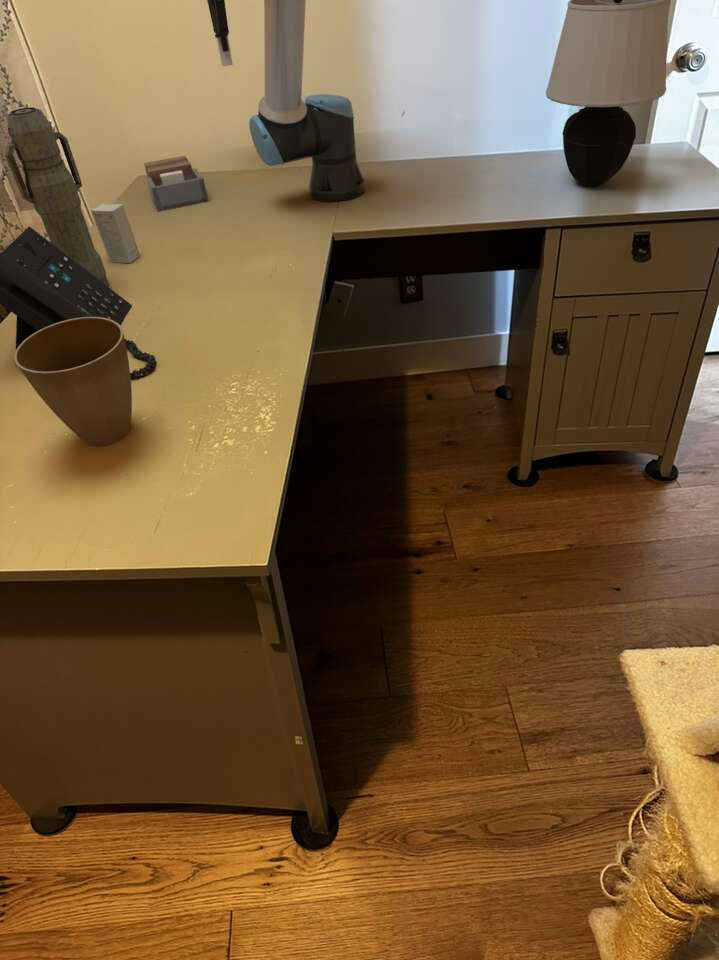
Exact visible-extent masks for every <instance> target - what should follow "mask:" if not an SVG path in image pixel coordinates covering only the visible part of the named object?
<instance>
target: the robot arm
mask: <svg viewBox="0 0 719 960" xmlns="http://www.w3.org/2000/svg"><path fill="white" fill-rule="evenodd" d="M206 2H207V6H208V10H209V15H210V19H211V23H212V29H213V33H214V34H215V35H214V37H215V38H216V42H217V46H218V52H219V57H220V63H221V67H228V66H233V65H234V64H233V59H232V53H231V47H230V46H231V45H230V41H229V36H228V35H229V34H230V30H229V25H228V18H227V10H226V9H227V8H226V2H225V0H206ZM263 2H264V3H263V4H264V5H263V6H264V7H263V8H264V13H263V14H264V17H263V18H264V19H263V20H264V21H263V22H264V25H263V27H264V96H262V97H261V99H260V100H259V102H258V108H257V109H258V114H253V116H251V117H250V118H249V122H248V125H249V131H250V132H249V133H250V135H251V139H252V142H253V145H254V148H255V149H256V152H257V154H258V157H259V158H260V159H261V161H262V162H263V163H264V164H265V165H267V166H269V167H273V166H279V165H281V166H283V165H284V164H287V163H292V162H297V161H299V160H304V159H305V160H306V159H308V158H311V162H312V167H311V171H310V178H309V183H308V193H309V196H310V198H311V199H313V200H315V201H321V202H341V201H342V202H343V201H347V200H352V199H355V198H358V197H359V195H360V196H362V195H363V194H364V193H365V191H366V184H365V179H364V177H363V174H362V171H361V168H360V165H359V163H358V160H357V151H356V150H357V149H356V148H357V147H356V137H355V135H356V134H355V123H354V120H355V117H354V111H353V105H352V102H351V100H350V99H349V98H347V97H346V96H342V95H336V94H311V95H307V96H306V97H305V98H304V100H303V99H302V94H303V93H302V87H303V72H304V71H303V67H304V49H305V48H304V45H305V44H304V43H305V24H306V22H305V21H306V2H307V1H306V0H264V1H263ZM363 192H364V193H363ZM362 193H363V194H362Z"/></svg>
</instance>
